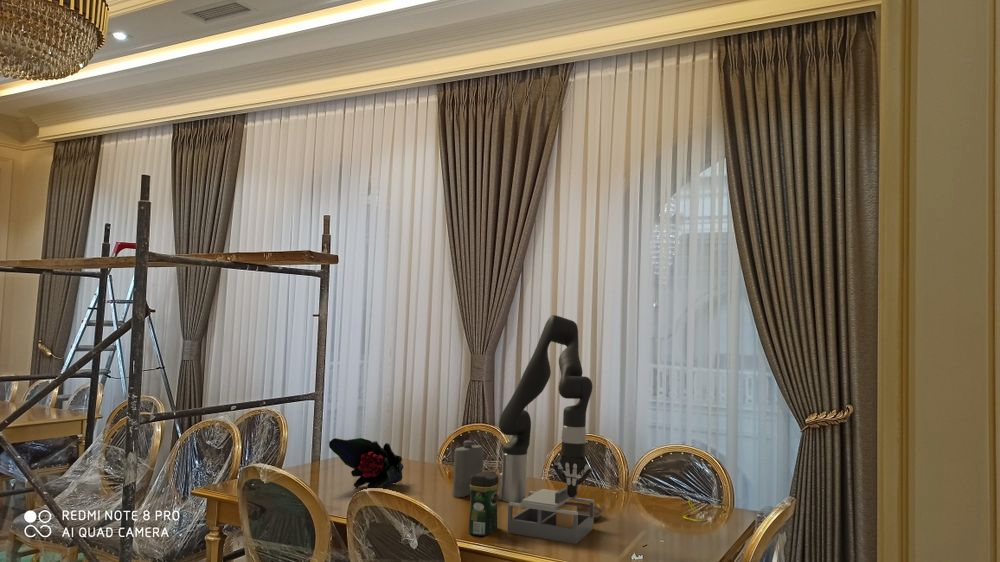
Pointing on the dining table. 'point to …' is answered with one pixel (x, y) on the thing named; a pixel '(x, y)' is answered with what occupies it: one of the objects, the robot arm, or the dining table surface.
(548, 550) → the dining table surface
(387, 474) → the decorative plant
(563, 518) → the module
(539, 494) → the lid
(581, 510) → the plant saucer
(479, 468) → the flask
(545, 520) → the case
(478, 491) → the coffee jar
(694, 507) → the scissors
